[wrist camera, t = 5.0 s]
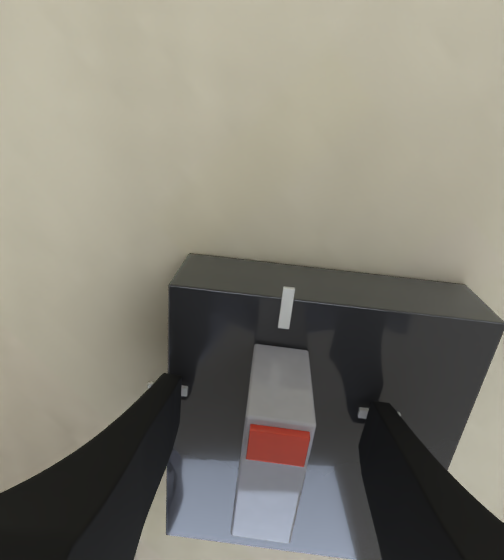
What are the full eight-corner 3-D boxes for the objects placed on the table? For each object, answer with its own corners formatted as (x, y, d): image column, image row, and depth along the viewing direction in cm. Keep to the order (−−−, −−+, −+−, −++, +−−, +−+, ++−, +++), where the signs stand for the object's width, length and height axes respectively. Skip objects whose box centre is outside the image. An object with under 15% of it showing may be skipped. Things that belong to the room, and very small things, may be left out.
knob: (288, 453, 15) (290, 553, 11) (241, 446, 15) (228, 545, 11) (308, 349, 13) (318, 432, 10) (254, 342, 13) (244, 423, 10)
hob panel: (169, 475, 20) (149, 537, 17) (172, 240, 15) (145, 272, 12) (391, 503, 20) (409, 571, 17) (469, 274, 15) (514, 314, 12)
